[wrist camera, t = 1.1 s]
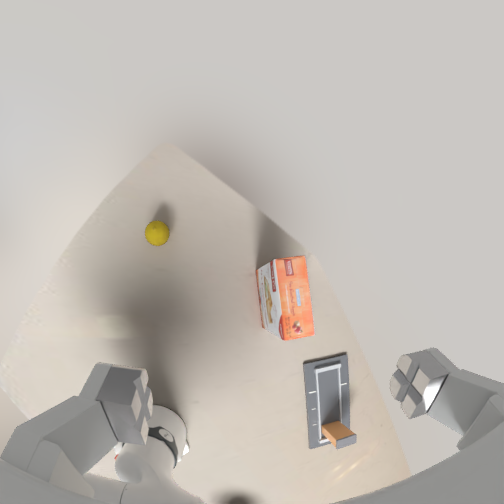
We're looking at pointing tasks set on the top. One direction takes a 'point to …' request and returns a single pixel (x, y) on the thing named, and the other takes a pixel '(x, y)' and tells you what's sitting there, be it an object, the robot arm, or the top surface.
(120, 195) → the top surface
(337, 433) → the fader cap
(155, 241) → the lemon
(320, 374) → the grey fader base
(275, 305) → the cracker box
